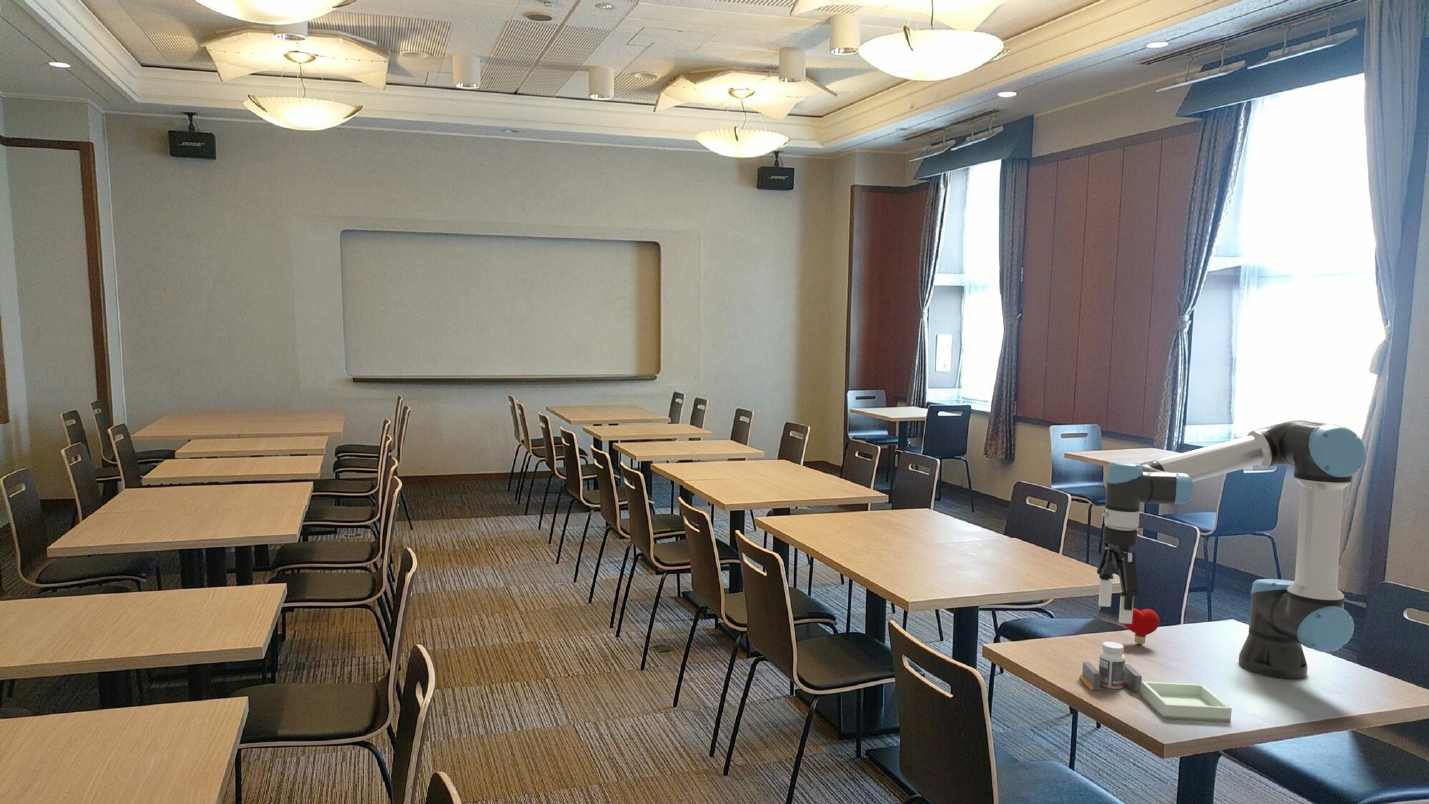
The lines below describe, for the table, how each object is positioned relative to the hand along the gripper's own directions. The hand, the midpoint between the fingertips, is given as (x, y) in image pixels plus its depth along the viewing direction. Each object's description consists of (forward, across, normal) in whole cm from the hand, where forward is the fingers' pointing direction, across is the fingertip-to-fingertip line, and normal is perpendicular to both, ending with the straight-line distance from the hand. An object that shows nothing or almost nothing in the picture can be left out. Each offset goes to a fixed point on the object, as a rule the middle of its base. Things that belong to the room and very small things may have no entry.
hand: (1114, 614), depth 222 cm
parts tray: (+17, +12, +12) cm, 24 cm away
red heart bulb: (+17, -32, +19) cm, 41 cm away
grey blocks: (+17, 0, 0) cm, 17 cm away
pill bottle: (+18, 0, 0) cm, 18 cm away
